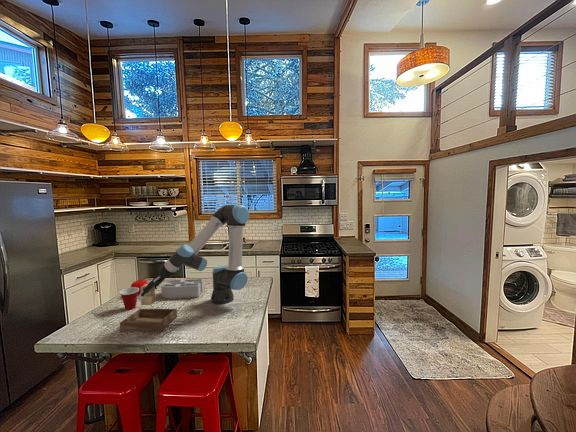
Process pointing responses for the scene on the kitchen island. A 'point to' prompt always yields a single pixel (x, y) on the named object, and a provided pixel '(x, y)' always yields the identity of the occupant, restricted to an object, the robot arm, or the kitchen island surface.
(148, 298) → the oak peg
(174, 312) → the walnut crate
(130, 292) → the plastic cup
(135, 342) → the kitchen island surface
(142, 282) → the tomato
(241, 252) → the robot arm
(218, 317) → the kitchen island surface
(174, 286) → the grey compartment tray
